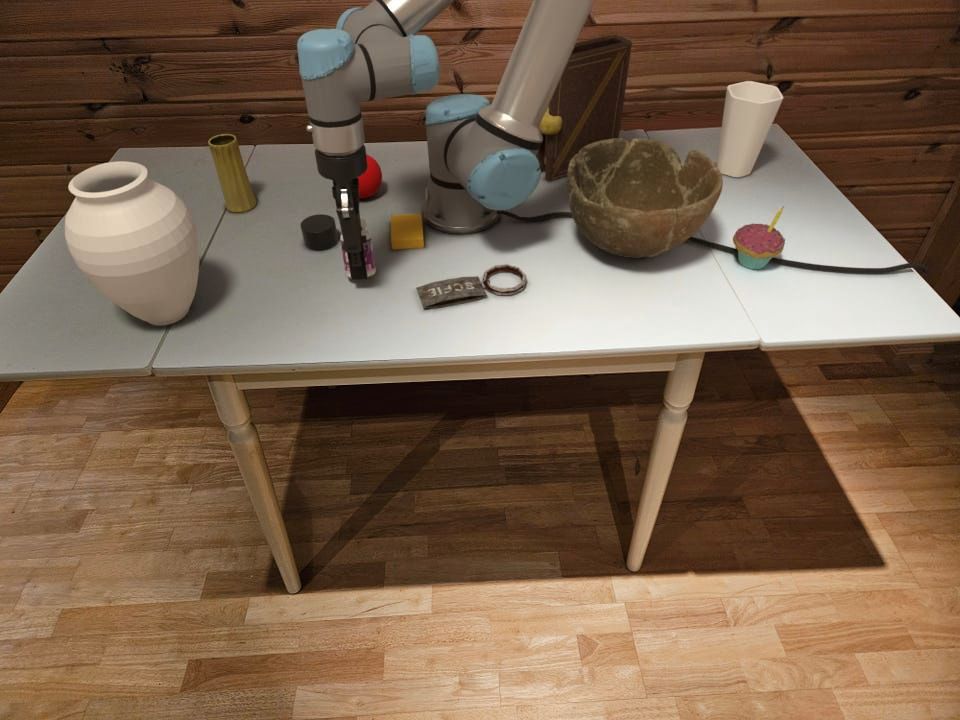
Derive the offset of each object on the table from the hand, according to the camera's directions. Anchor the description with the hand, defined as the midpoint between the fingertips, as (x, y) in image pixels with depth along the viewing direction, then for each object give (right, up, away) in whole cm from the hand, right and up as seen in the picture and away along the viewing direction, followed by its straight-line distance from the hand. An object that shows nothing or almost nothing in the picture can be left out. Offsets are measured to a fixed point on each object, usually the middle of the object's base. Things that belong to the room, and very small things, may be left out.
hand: (359, 277), depth 113 cm
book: (+41, +29, +33) cm, 60 cm away
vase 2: (-29, +18, +23) cm, 41 cm away
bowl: (+49, +8, +11) cm, 51 cm away
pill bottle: (0, +1, +3) cm, 3 cm away
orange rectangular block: (+7, +10, +14) cm, 18 cm away
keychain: (+20, -2, +1) cm, 20 cm away
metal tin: (-10, +9, +13) cm, 18 cm away
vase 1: (-32, -6, -2) cm, 33 cm away
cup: (+77, +28, +31) cm, 87 cm away
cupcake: (+70, +3, +6) cm, 71 cm away
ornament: (-4, +20, +25) cm, 33 cm away
